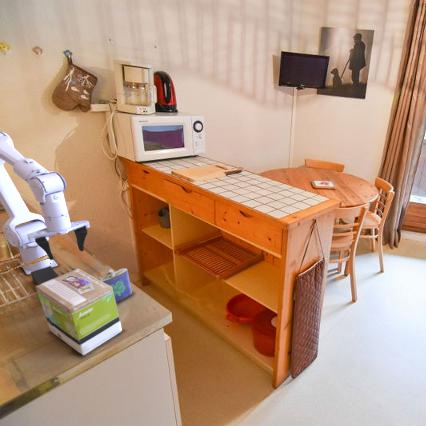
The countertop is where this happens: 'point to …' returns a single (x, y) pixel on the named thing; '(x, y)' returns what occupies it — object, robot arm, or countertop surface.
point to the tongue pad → (43, 275)
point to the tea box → (80, 310)
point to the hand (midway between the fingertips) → (66, 254)
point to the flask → (118, 283)
